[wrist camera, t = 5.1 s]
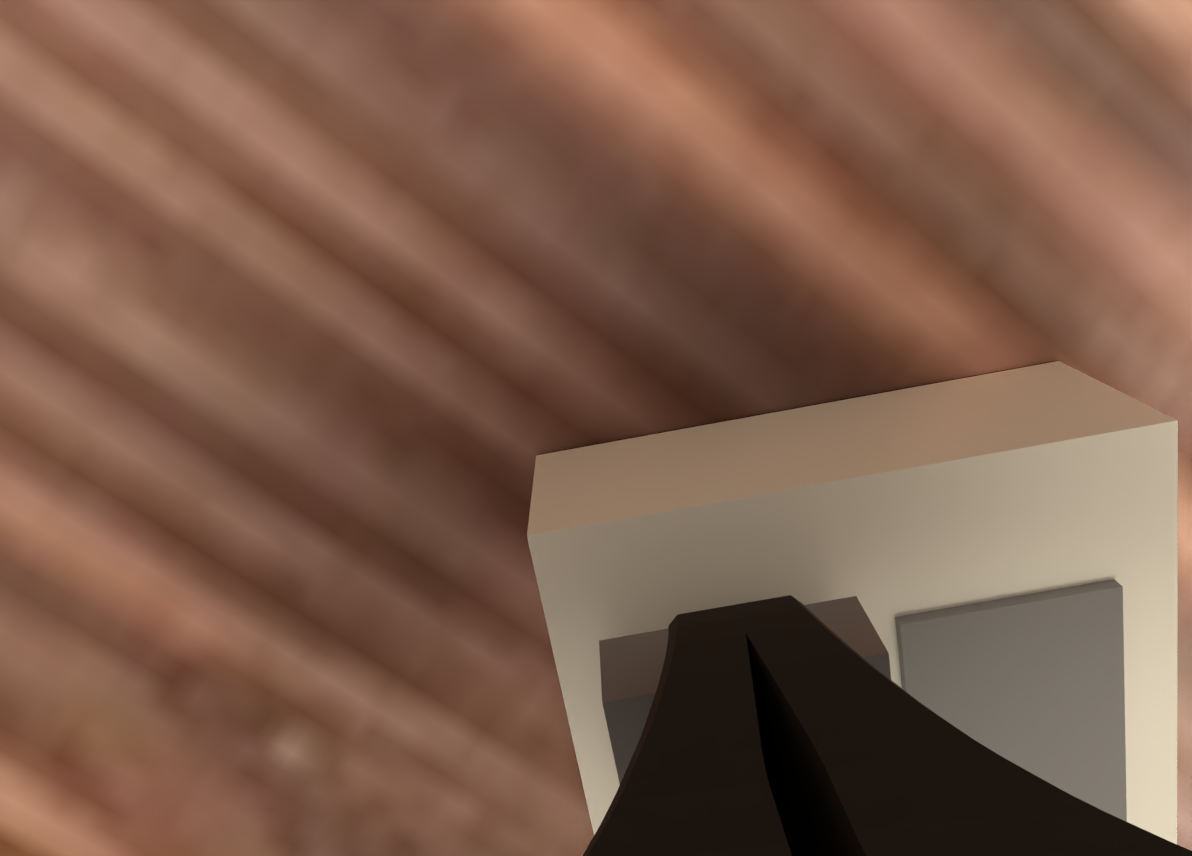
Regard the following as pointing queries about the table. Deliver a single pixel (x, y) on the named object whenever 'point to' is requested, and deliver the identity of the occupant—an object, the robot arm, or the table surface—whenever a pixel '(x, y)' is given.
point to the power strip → (905, 562)
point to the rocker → (641, 658)
